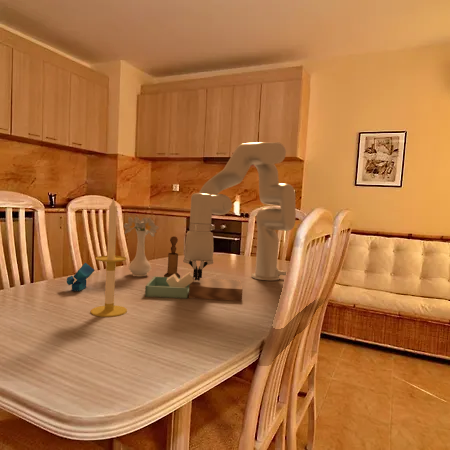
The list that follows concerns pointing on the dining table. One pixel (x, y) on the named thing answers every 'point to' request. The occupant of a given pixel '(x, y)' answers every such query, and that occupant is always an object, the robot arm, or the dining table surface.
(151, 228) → the flower vase
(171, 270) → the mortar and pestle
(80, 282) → the crystal
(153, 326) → the dining table surface
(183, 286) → the tile
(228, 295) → the board
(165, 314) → the dining table surface
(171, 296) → the tray
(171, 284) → the tile
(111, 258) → the candle
